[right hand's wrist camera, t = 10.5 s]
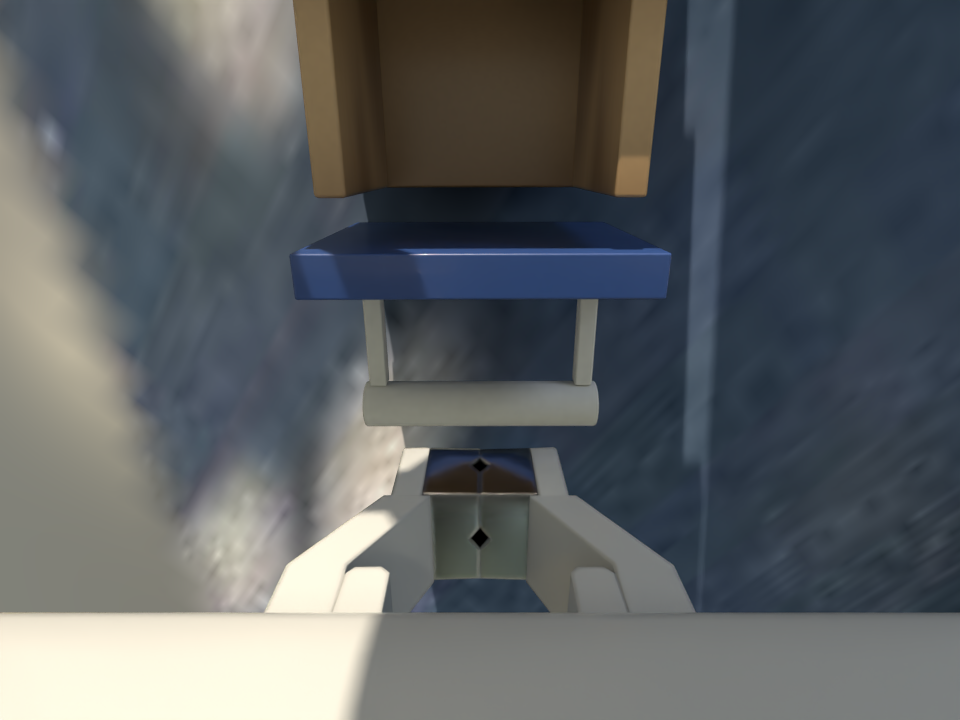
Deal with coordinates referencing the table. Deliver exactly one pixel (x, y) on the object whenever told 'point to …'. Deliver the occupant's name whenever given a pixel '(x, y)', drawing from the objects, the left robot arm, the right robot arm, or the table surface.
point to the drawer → (480, 173)
